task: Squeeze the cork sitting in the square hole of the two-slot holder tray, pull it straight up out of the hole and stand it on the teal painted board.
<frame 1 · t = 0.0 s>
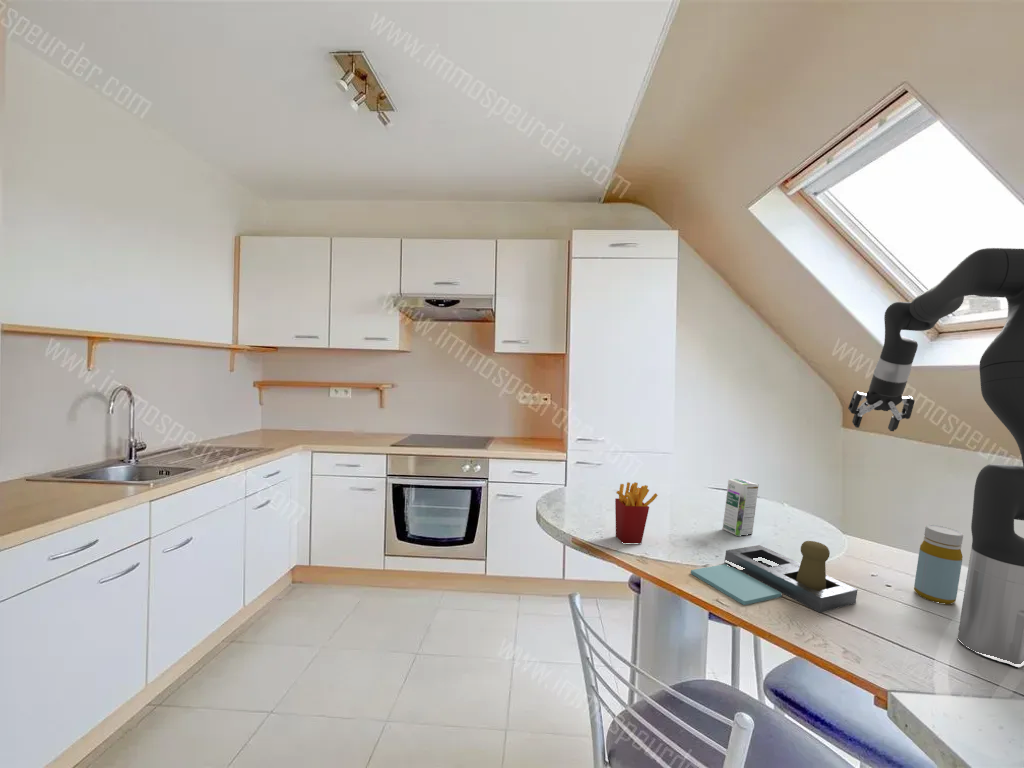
hand: (873, 428, 142), 31 cm above the table, tool tilted 20°, fingers open, 8 cm apart
cork: (809, 594, 106), resting in two-slot holder tray
french fries: (630, 539, 129), on the table
syrup box: (737, 532, 141), on the table
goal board: (734, 584, 108), on the table
bottle: (933, 598, 109), on the table
two-slot holder tray: (785, 581, 111), on the table
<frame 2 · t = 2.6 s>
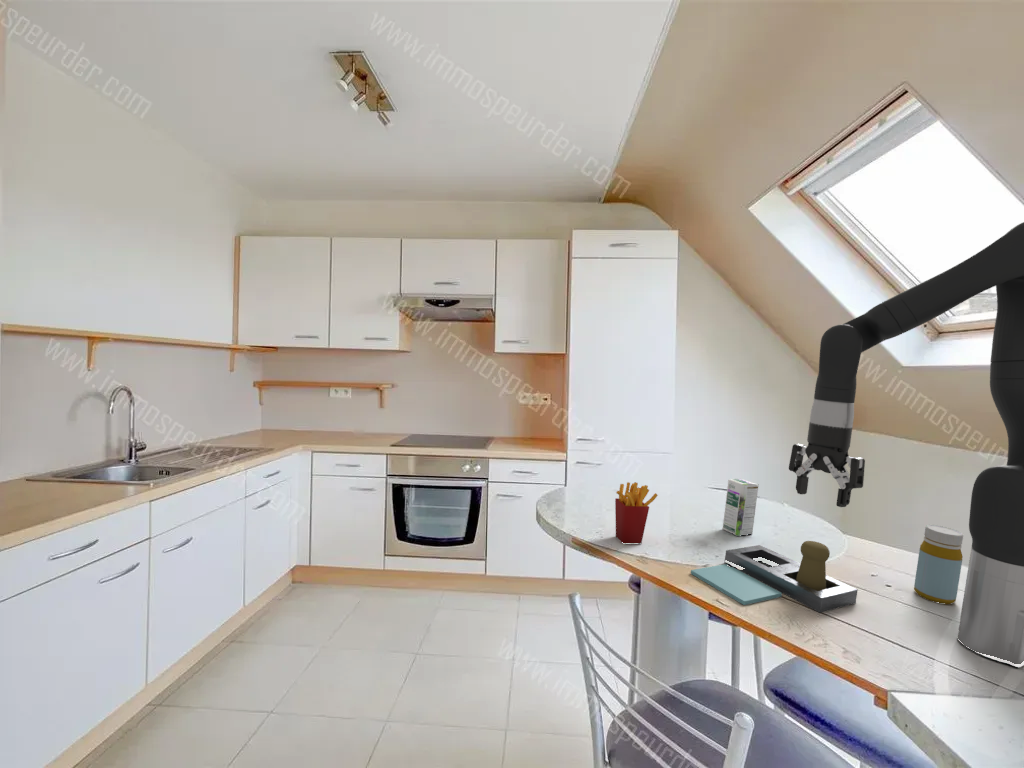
hand: (820, 499, 105), 20 cm above the table, tool pointing down, fingers open, 8 cm apart
nothing on the table moved.
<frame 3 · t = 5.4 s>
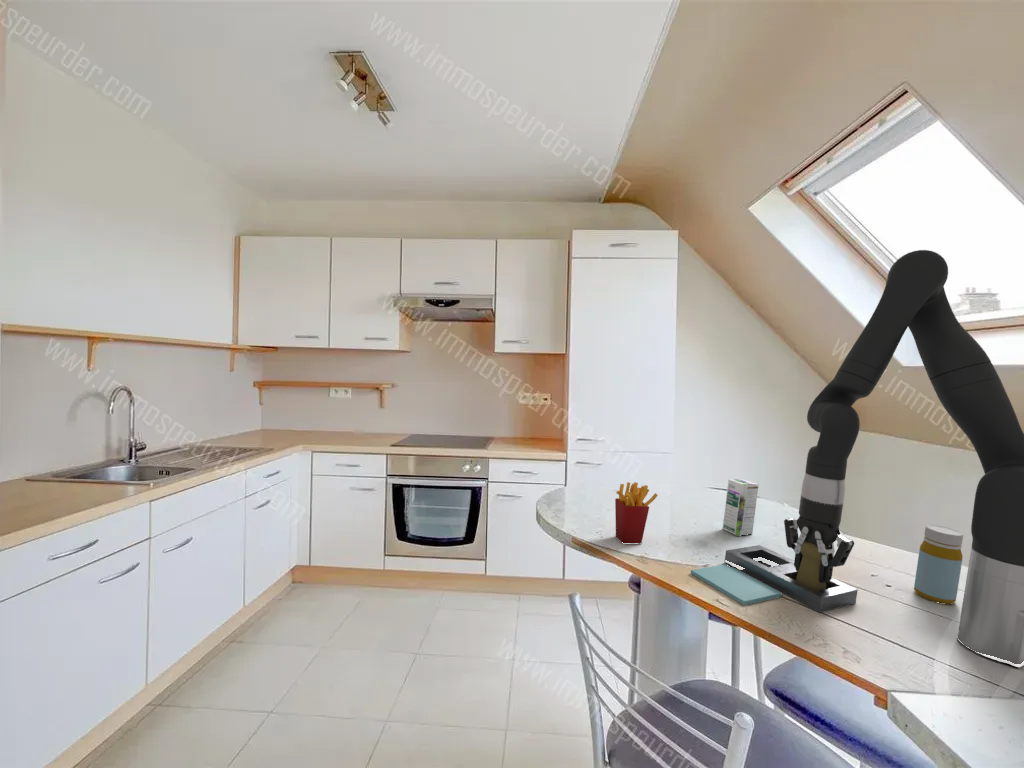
hand: (811, 575, 106), 4 cm above the table, tool pointing down, fingers closed on cork, 4 cm apart
cork: (809, 594, 106), resting in two-slot holder tray, touching gripper
everything else where it was.
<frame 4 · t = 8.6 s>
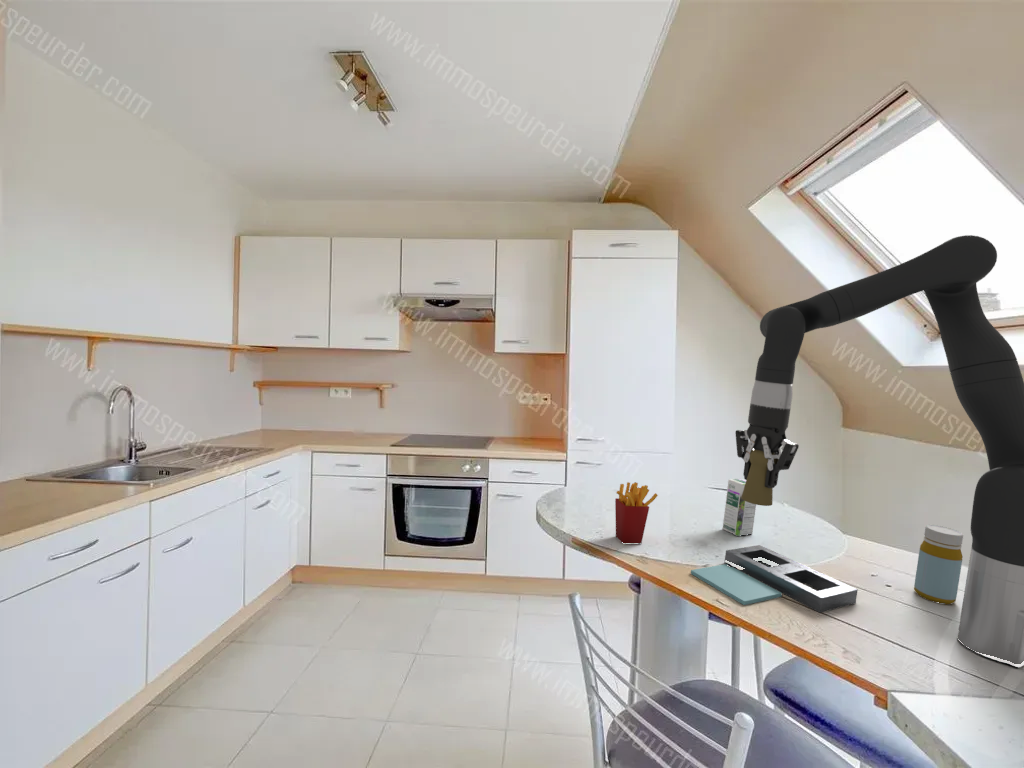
hand: (758, 483, 107), 22 cm above the table, tool pointing down, fingers closed on cork, 4 cm apart
cork: (756, 501, 107), point 18 cm above the table, touching gripper
everything else where it was.
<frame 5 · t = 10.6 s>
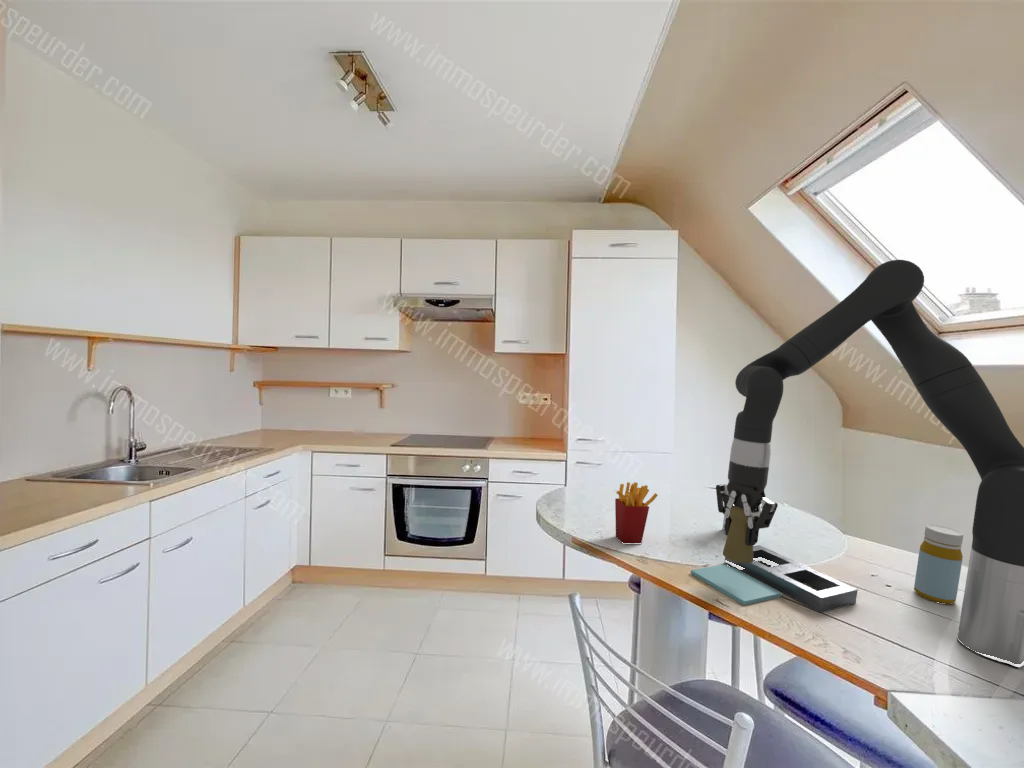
hand: (739, 539, 107), 10 cm above the table, tool pointing down, fingers closed on cork, 4 cm apart
cork: (737, 557, 108), point 6 cm above the table, touching gripper
everything else where it was.
when the fingers open (6 cm above the table, at t = 12.1 s): cork drops 2 cm, resting on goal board.
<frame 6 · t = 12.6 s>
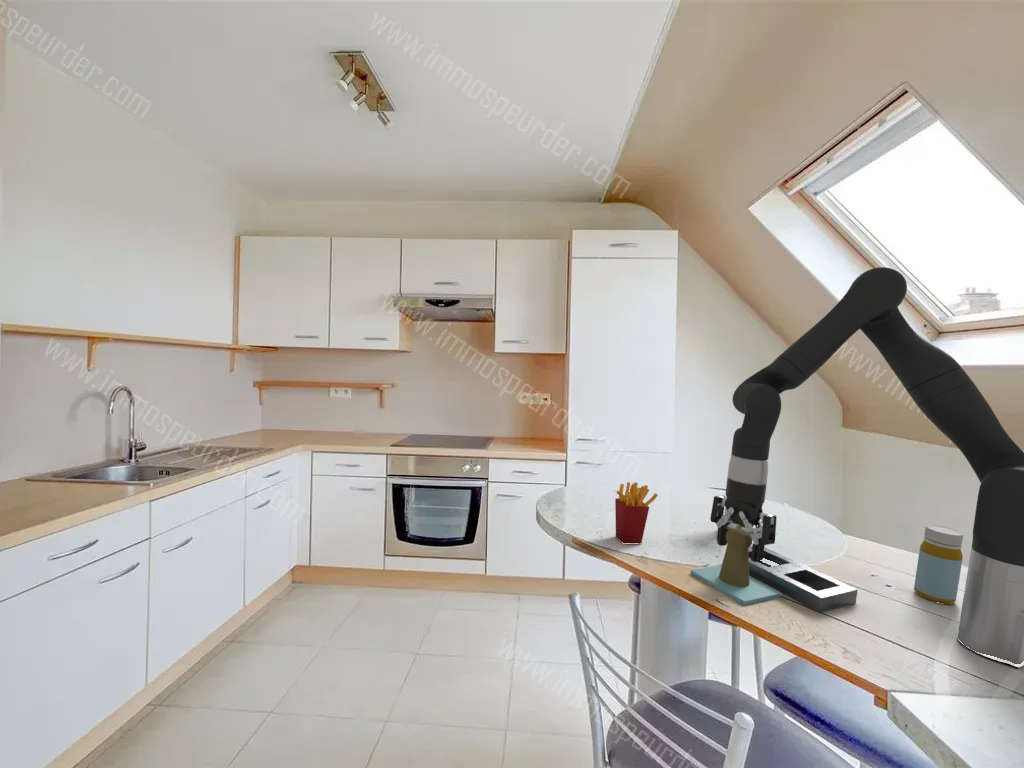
hand: (738, 552, 107), 7 cm above the table, tool pointing down, fingers open, 8 cm apart
cork: (733, 581, 108), point 1 cm above the table, touching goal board
everything else where it was.
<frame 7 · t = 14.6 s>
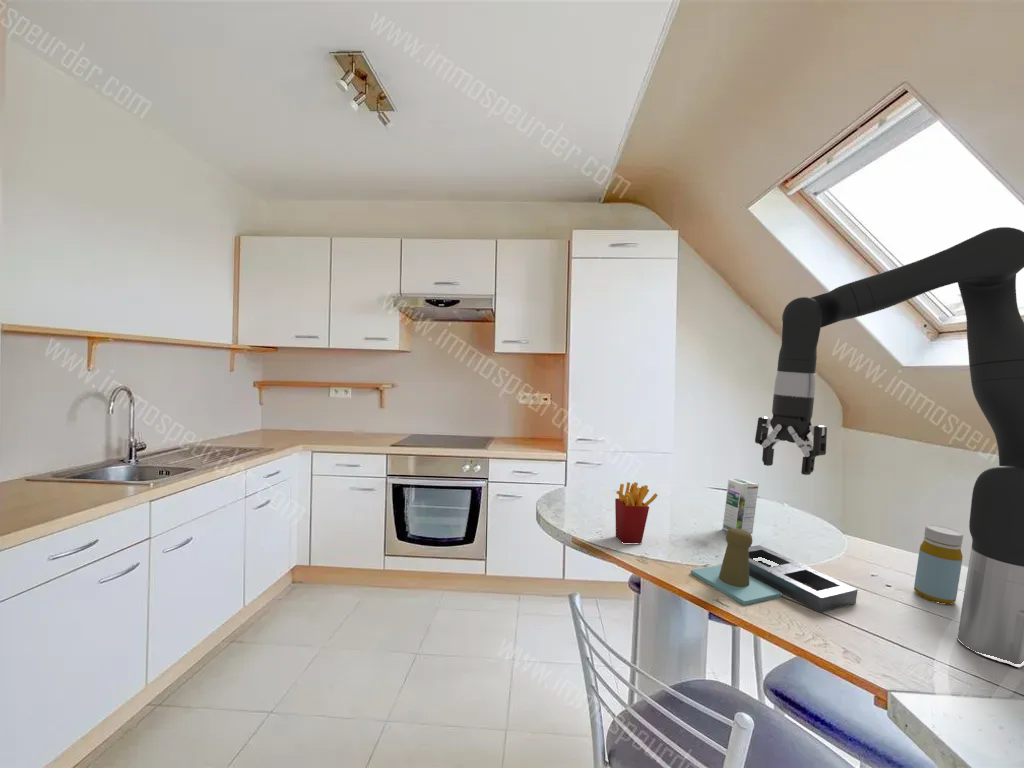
hand: (786, 469, 108), 25 cm above the table, tool pointing down, fingers open, 8 cm apart
nothing on the table moved.
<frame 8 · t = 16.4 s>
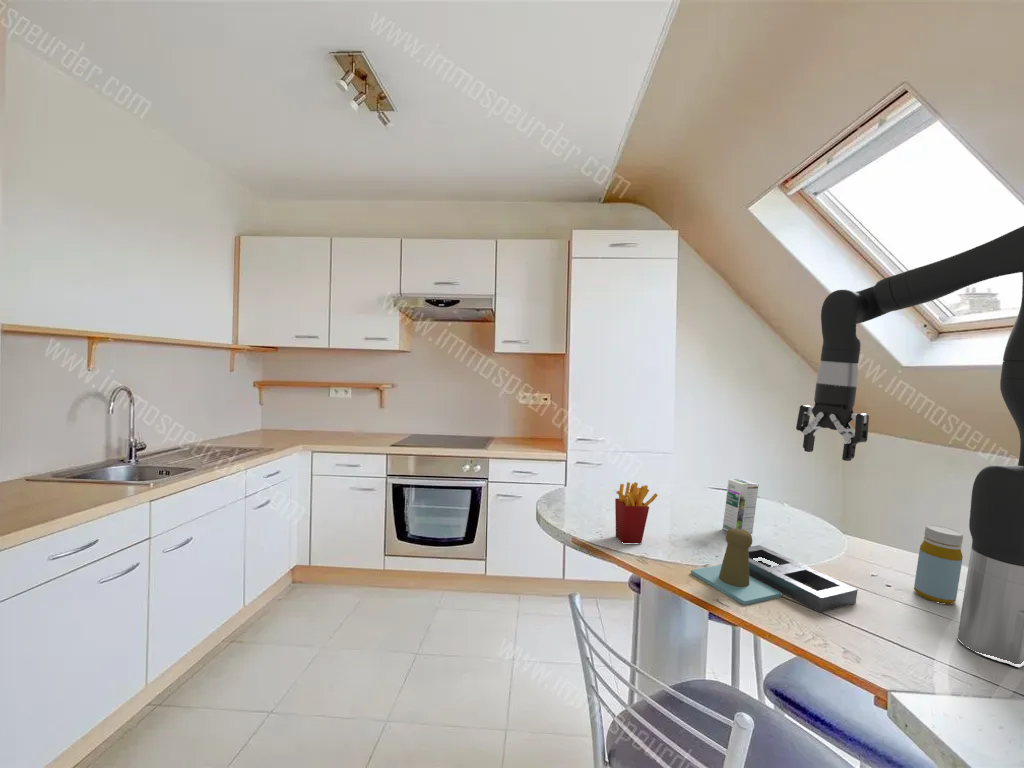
hand: (826, 455, 112), 28 cm above the table, tool pointing down, fingers open, 8 cm apart
nothing on the table moved.
at the end: cork inside the target area on the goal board (0.4 cm from its centre), point 0.6 cm above the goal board's base; cork tilted 0°; cork touching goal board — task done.
